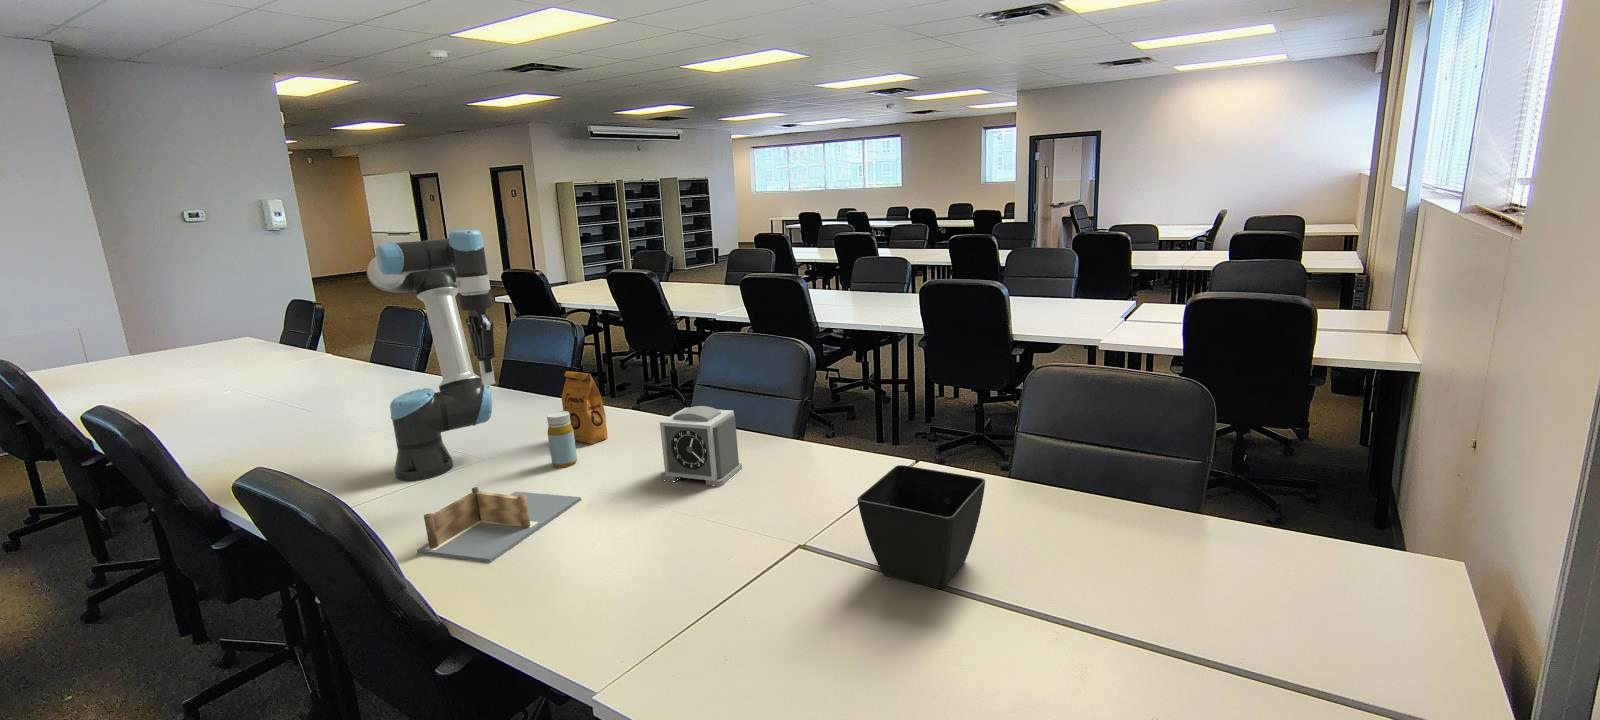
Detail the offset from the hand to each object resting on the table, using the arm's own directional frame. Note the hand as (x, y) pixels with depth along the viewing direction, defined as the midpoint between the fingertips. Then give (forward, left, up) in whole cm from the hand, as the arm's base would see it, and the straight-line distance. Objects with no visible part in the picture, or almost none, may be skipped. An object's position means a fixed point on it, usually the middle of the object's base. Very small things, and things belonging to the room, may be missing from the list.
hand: (488, 384), depth 193 cm
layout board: (+21, -9, -29) cm, 37 cm away
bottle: (-7, +20, -30) cm, 36 cm away
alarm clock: (+32, +41, -30) cm, 60 cm away
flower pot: (+108, +40, -30) cm, 119 cm away
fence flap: (+22, -9, -28) cm, 37 cm away
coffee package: (-22, +35, -30) cm, 51 cm away
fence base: (+19, -18, -29) cm, 39 cm away
